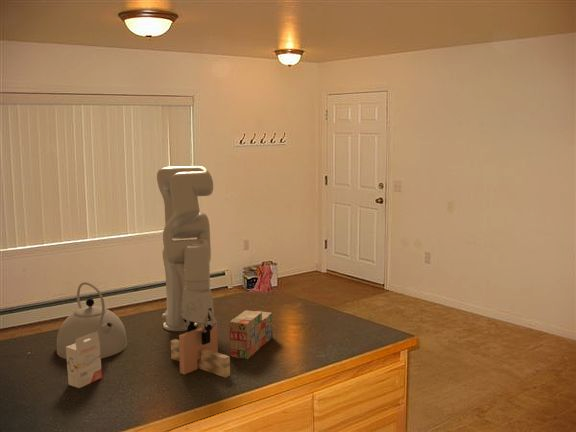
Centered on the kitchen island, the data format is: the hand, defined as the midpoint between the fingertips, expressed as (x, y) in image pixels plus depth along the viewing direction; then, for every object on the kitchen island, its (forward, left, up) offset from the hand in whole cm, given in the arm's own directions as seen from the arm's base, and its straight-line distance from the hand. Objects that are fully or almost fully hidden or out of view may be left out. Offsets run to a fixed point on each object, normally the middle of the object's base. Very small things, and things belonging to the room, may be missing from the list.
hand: (198, 340), depth 184 cm
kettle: (-40, -11, -9) cm, 42 cm away
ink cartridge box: (-19, -28, -9) cm, 35 cm away
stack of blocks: (+2, +23, -9) cm, 24 cm away
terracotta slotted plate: (0, 0, -8) cm, 8 cm away
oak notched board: (0, 0, -8) cm, 8 cm away
